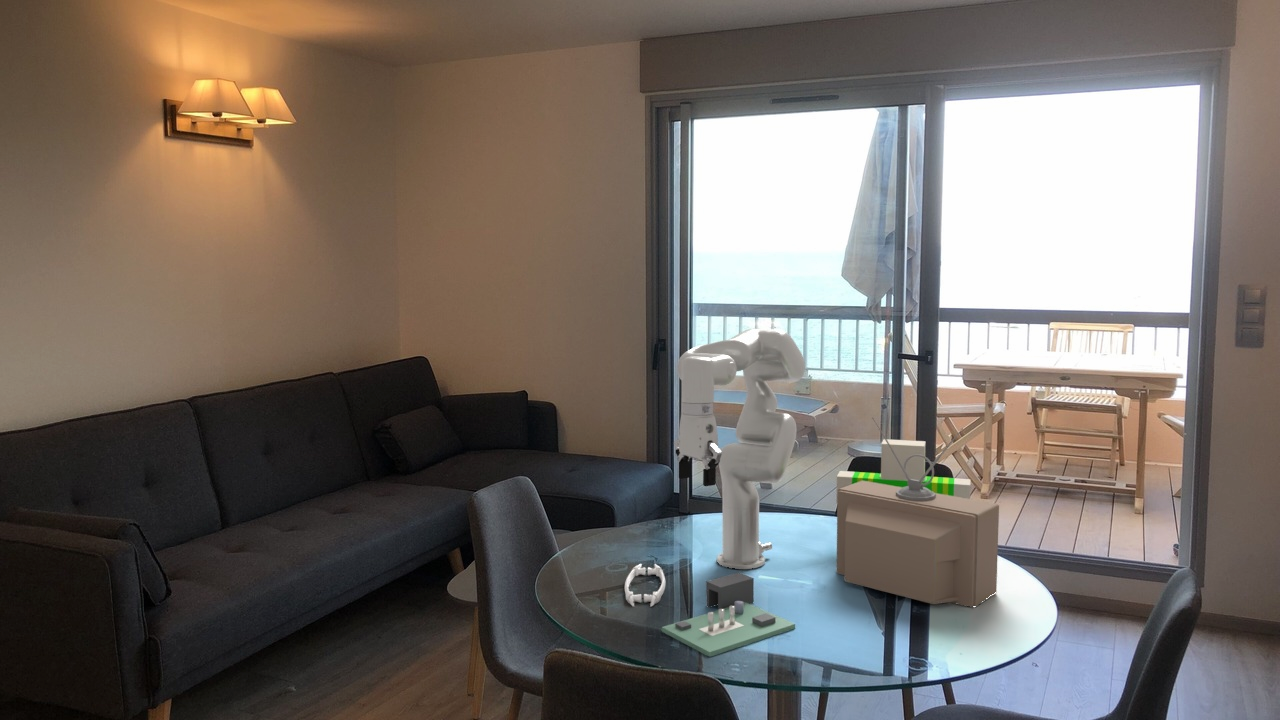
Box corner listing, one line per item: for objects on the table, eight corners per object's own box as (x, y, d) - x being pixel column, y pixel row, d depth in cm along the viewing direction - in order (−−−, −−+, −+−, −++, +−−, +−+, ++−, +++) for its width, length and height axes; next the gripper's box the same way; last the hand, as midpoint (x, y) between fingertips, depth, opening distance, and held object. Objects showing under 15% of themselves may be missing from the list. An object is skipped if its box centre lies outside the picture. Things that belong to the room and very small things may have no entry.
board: (745, 606, 214) (745, 592, 214) (795, 628, 201) (795, 613, 201) (661, 631, 200) (661, 616, 200) (709, 656, 187) (709, 640, 187)
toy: (968, 554, 250) (971, 443, 246) (968, 561, 243) (971, 448, 240) (839, 542, 261) (840, 436, 258) (835, 549, 254) (837, 441, 251)
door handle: (667, 572, 239) (663, 608, 215) (628, 572, 240) (620, 608, 215) (667, 562, 239) (663, 597, 214) (628, 562, 240) (620, 596, 215)
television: (999, 592, 221) (1004, 426, 217) (961, 617, 206) (966, 439, 202) (862, 560, 246) (865, 410, 241) (820, 580, 231) (822, 421, 227)
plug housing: (739, 597, 220) (739, 572, 220) (753, 603, 216) (753, 578, 216) (706, 606, 215) (706, 581, 214) (720, 613, 211) (720, 587, 210)
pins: (732, 622, 202) (732, 605, 202) (736, 624, 201) (736, 606, 201) (706, 630, 198) (706, 612, 197) (710, 632, 197) (710, 614, 196)
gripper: (733, 412, 213) (732, 486, 214) (688, 404, 227) (688, 473, 229) (706, 415, 209) (706, 490, 210) (663, 406, 223) (662, 477, 225)
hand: (696, 481), depth 219 cm, fingers open, 9 cm apart
